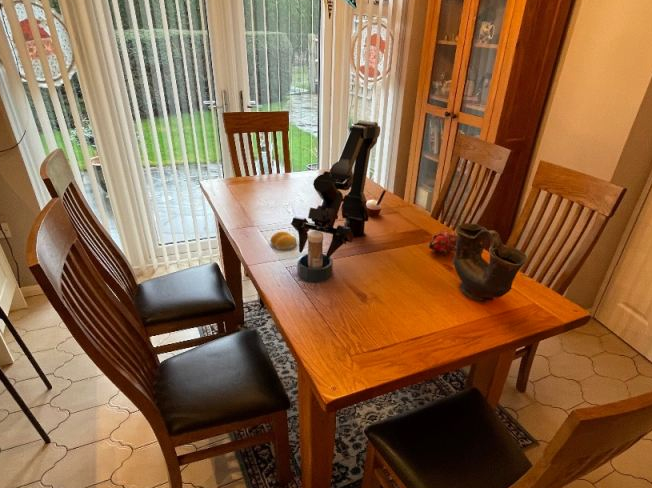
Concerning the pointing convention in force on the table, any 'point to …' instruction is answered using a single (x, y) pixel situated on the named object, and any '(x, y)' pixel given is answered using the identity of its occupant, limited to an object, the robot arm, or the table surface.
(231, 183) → the table surface
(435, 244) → the dragon fruit
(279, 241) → the bread roll
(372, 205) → the cocoa
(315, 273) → the bowl
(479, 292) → the pottery vessel
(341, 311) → the table surface
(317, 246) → the spice jar
